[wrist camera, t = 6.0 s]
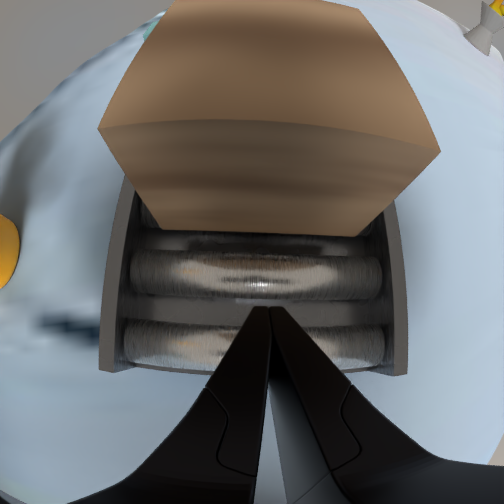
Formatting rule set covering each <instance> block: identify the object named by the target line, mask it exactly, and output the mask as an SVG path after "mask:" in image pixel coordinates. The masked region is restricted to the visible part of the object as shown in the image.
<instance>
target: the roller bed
mask: <svg viewBox="0 0 504 504" xmlns="http://www.w3.org/2000/svg"><path fill="white" fill-rule="evenodd" d="M254 306H267V307H268V308H269V307H270V306H283V307H284V308H285V309H286V310H287V311H288V312H289V313H290V315H291V316H292V317H293V318H294V319H295V320H296V321H297V322H298V324H299V325H300V326H301V327H302V328H303V329H304V330H305V331H306V333H307V334H308V335H309V336H310V337H311V338H312V339H313V340H314V342H315V343H316V344H317V345H318V346H319V347H320V348H321V349H322V350H323V352H324V353H325V354H326V355H327V356H328V357H329V358H330V359H331V360H332V362H333V363H334V364H335V365H336V366H337V367H338V368H339V369H340V370H341V372H342V373H353V372H362V371H371V372H376V373H380V374H385V375H389V376H399V375H404V374H407V367H408V313H407V294H406V281H405V270H404V261H403V253H402V245H401V238H400V231H399V225H398V219H397V214H396V208H395V203H394V200H393V201H392V202H391V203H390V204H389V205H388V206H387V207H386V208H385V209H384V210H383V211H382V212H381V213H380V214H379V215H378V216H377V217H376V218H375V219H373V220H372V221H371V222H370V223H369V224H368V225H367V226H366V227H365V228H364V229H363V230H362V231H361V232H360V233H358V234H357V235H356V236H355V237H348V236H330V235H310V234H288V233H264V232H237V231H204V230H162V228H161V227H160V225H159V224H158V223H157V221H156V220H155V218H154V217H153V215H152V214H151V212H150V211H149V209H148V208H147V206H146V205H145V204H144V202H143V201H142V199H141V198H140V196H139V195H138V193H137V192H136V190H135V188H134V187H133V185H132V184H131V182H130V181H129V179H128V178H127V176H126V175H125V176H124V180H123V184H122V188H121V192H120V196H119V200H118V204H117V209H116V213H115V218H114V223H113V228H112V233H111V239H110V244H109V250H108V257H107V263H106V270H105V278H104V286H103V295H102V306H101V319H100V336H99V370H102V371H107V372H112V373H116V372H119V371H123V370H127V369H131V368H134V367H140V368H147V369H154V370H161V371H170V372H179V373H189V374H201V375H212V374H213V372H214V371H215V369H216V368H217V366H218V364H219V363H220V361H221V359H222V358H223V356H224V355H225V353H226V351H227V350H228V348H229V346H230V345H231V343H232V341H233V340H234V338H235V336H236V335H237V333H238V331H239V330H240V328H241V326H242V325H243V323H244V321H245V320H246V318H247V316H248V314H249V313H250V311H251V309H252V308H253V307H254Z"/></svg>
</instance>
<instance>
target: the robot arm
mask: <svg viewBox="0 0 504 504" xmlns="http://www.w3.org/2000/svg"><path fill="white" fill-rule="evenodd" d="M351 384H352V383H351V381H350V380H349V379H348V378H347V377H346V376H345V375H344V374H343V373H342V372H341V370H340V369H339V368H338V367H337V366H336V365H335V364H334V363H333V362H332V360H331V359H330V358H329V357H328V356H327V355H326V354H325V353H324V352H323V350H322V349H321V348H320V347H319V346H318V345H317V344H316V343H315V342H314V340H313V339H312V338H311V337H310V336H309V335H308V334H307V333H306V331H305V330H304V329H303V328H302V327H301V326H300V325H299V324H298V322H297V321H296V320H295V319H294V318H293V317H292V316H291V315H290V313H289V312H288V311H287V310H286V309H285V308H284V307H283V306H270V307H269V308H268V307H267V306H254V307H253V308H252V309H251V311H250V313H249V314H248V316H247V318H246V320H245V321H244V323H243V325H242V326H241V328H240V330H239V331H238V333H237V335H236V336H235V338H234V340H233V341H232V343H231V345H230V346H229V348H228V350H227V351H226V353H225V355H224V356H223V358H222V359H221V361H220V363H219V364H218V366H217V368H216V369H215V371H214V372H213V374H212V376H211V377H210V379H209V381H208V382H207V384H206V385H205V388H203V390H202V391H201V393H200V395H199V396H198V398H197V399H196V401H195V402H194V404H193V405H192V407H191V408H190V409H189V411H188V412H187V414H186V415H185V416H184V418H183V419H182V420H181V421H180V422H179V424H178V425H177V426H176V427H175V428H174V430H173V431H172V432H171V433H170V434H169V435H168V436H167V437H166V439H165V440H164V441H163V442H162V443H161V444H160V445H159V446H158V447H157V448H156V449H155V450H154V452H153V453H152V454H151V455H150V456H149V457H148V458H147V459H146V460H145V461H144V462H143V463H142V464H141V465H140V466H139V467H138V468H137V469H136V470H135V471H134V472H133V473H131V474H130V475H129V476H128V477H126V478H125V479H124V480H122V481H120V482H119V483H117V484H115V485H113V486H110V487H108V488H106V489H104V490H101V491H99V492H96V493H94V494H91V495H89V496H86V497H84V498H81V499H78V500H76V501H73V502H70V503H67V504H253V503H254V496H255V488H256V481H257V479H256V478H257V473H258V466H259V458H260V450H261V442H262V434H263V426H264V417H265V408H266V399H267V390H268V389H269V395H270V402H271V408H272V414H273V420H274V426H275V432H276V438H277V444H278V451H279V457H280V463H281V469H282V475H283V481H284V487H285V493H286V498H287V504H504V466H495V465H483V464H474V463H466V462H459V461H453V460H447V459H444V458H440V457H438V456H436V455H433V454H432V453H430V452H428V451H427V450H425V449H424V448H423V447H421V446H420V445H419V444H418V443H416V442H415V441H414V440H413V439H411V438H410V437H409V436H408V435H407V434H405V433H404V432H403V431H402V430H401V429H399V428H398V427H397V426H396V425H395V424H393V423H392V422H391V421H390V420H389V419H388V418H386V417H385V416H384V415H383V414H382V413H381V412H380V411H379V410H378V409H376V408H375V407H374V406H373V405H372V404H371V403H370V402H369V401H368V400H367V399H366V398H365V396H364V395H363V394H362V393H361V392H360V391H359V390H358V389H357V388H356V387H355V386H354V385H351ZM0 504H26V503H24V502H22V501H20V500H18V499H16V498H14V497H12V496H10V495H8V494H6V493H5V492H3V491H1V490H0Z"/></svg>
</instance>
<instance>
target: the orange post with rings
mask: <svg viewBox="0 0 504 504" xmlns="http://www.w3.org/2000/svg"><path fill="white" fill-rule="evenodd" d="M19 246H20V244H19V233H18V230H17V228H16V226H15V224H14V223H13V222H12V221H10V220H9V219H8V218H6V217H5V216H3V215H2V214H0V289H1V288H3V287H4V286H5V285H6V284H7V282H8V281H9V280H10V278H11V276H12V274H13V272H14V269H15V267H16V263H17V260H18V255H19Z"/></svg>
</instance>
